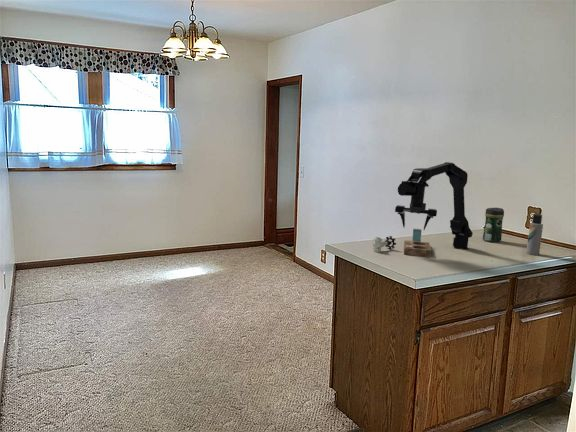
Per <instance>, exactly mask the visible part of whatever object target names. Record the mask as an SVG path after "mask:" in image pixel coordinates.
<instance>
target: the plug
mask: <svg viewBox="0 0 576 432" xmlns="http://www.w3.org/2000/svg"><path fill="white" fill-rule="evenodd" d="M421 240H422V229H421V228H413V229H412V239H411V241H417V242H422V241H421Z"/></svg>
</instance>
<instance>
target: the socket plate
mask: <svg viewBox="0 0 576 432" xmlns="http://www.w3.org/2000/svg"><path fill="white" fill-rule="evenodd" d="M403 255H408V256H417V257H427V256H428V258H431V257H432V256H431V255H432V249H431V244H430V242H426V241H421V242H417V241H412V240H405V239H404V242H403Z"/></svg>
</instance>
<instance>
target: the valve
mask: <svg viewBox="0 0 576 432" xmlns="http://www.w3.org/2000/svg"><path fill="white" fill-rule="evenodd" d="M395 241H396V238H393V235H390V236H386V237H385V240H383V239H382V238H381V237H377V236H376V237H373V243H372V251H373V252H374V253H381V252H382V248H384V247H385V248H388V250H392V249H395V248H396V247H395V246H396V245H397V242H395Z"/></svg>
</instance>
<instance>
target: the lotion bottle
mask: <svg viewBox="0 0 576 432" xmlns="http://www.w3.org/2000/svg"><path fill="white" fill-rule="evenodd" d="M542 221H543V214H541V213H534V214H533V215H532V222H530V224H529V229H528V230H529V231H528V237H527V246H526V254H527V253H528V254H527V255H530V256H539V255H540V251H541V246H542V245H541V244H542V235H543V228H544V224H542Z"/></svg>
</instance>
